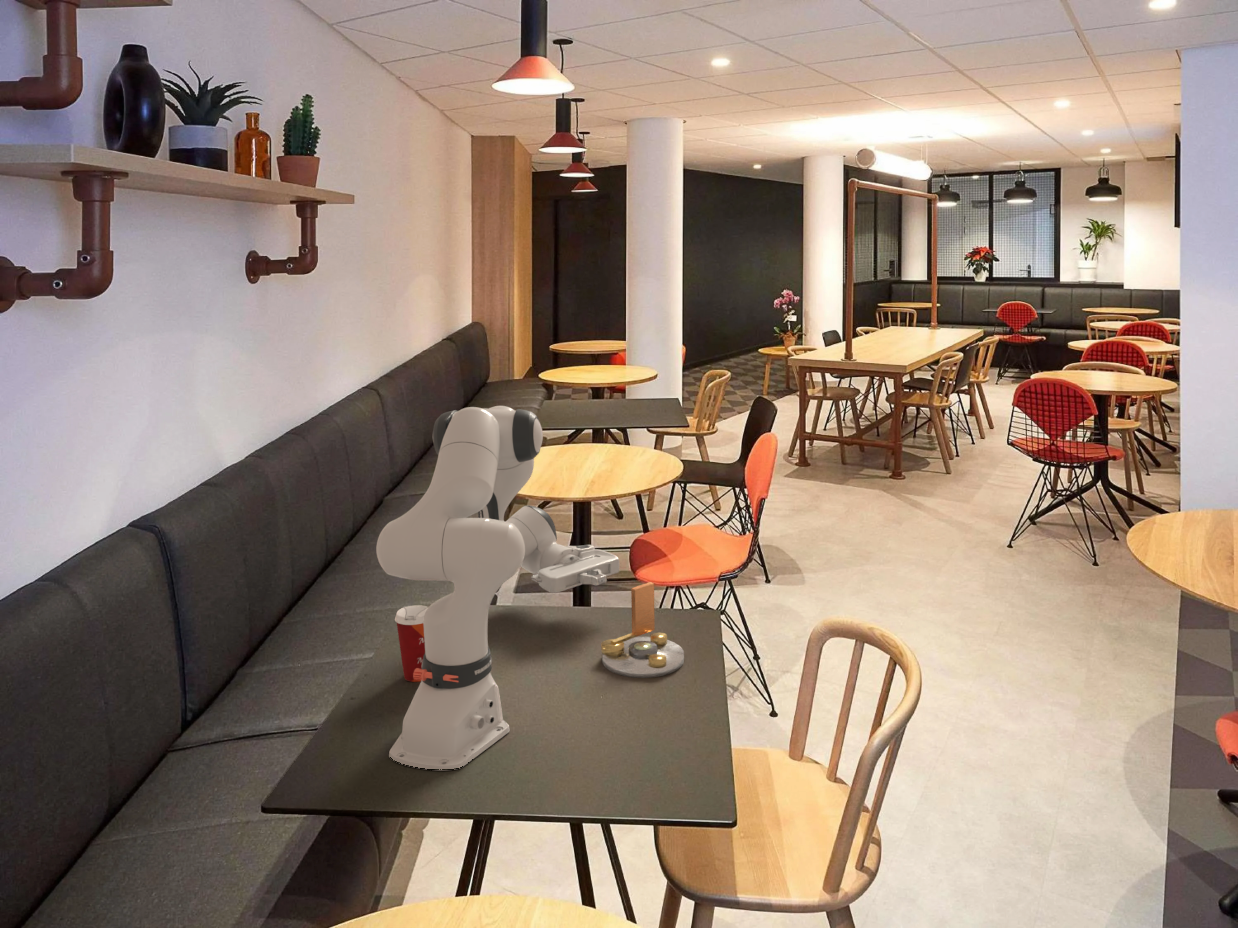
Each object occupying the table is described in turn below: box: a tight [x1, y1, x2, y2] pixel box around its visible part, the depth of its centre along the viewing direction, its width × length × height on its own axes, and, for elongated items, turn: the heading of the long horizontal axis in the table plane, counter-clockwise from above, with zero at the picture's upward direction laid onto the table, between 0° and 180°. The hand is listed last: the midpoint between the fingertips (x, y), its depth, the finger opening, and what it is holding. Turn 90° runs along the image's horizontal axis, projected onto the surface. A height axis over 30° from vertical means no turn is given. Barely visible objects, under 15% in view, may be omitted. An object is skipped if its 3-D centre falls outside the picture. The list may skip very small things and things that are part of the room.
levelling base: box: [601, 632, 685, 679], centre depth 199 cm, size 17×17×3 cm
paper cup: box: [394, 604, 429, 683], centre depth 192 cm, size 8×8×14 cm
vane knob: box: [600, 581, 656, 656], centre depth 201 cm, size 14×5×12 cm, turn 131°
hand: (601, 580), depth 213 cm, fingers closed
